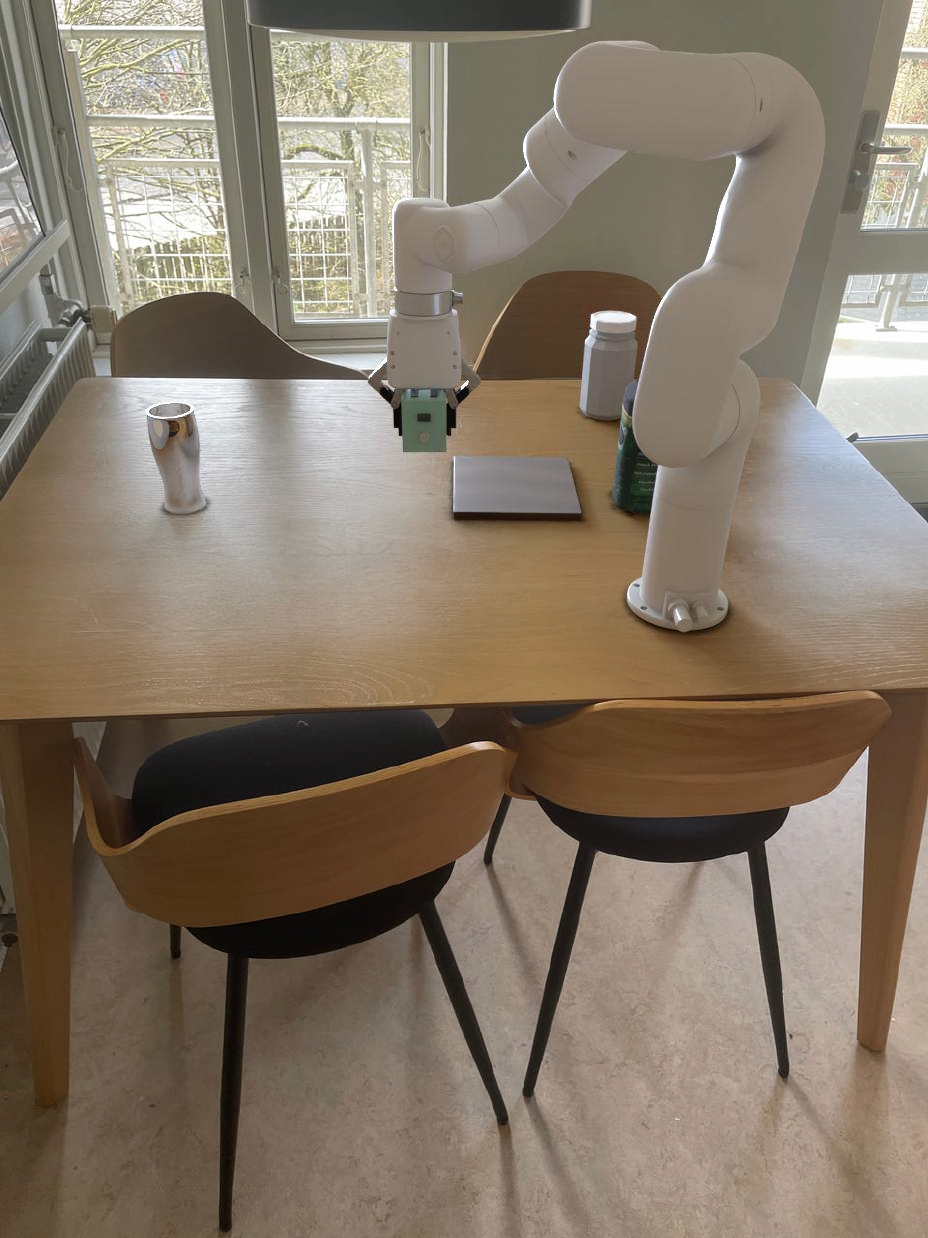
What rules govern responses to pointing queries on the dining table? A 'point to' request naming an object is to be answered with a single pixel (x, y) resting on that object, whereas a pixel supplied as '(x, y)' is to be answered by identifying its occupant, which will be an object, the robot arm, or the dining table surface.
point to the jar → (608, 364)
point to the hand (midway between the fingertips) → (425, 431)
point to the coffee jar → (632, 464)
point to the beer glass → (177, 455)
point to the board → (514, 488)
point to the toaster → (424, 420)
